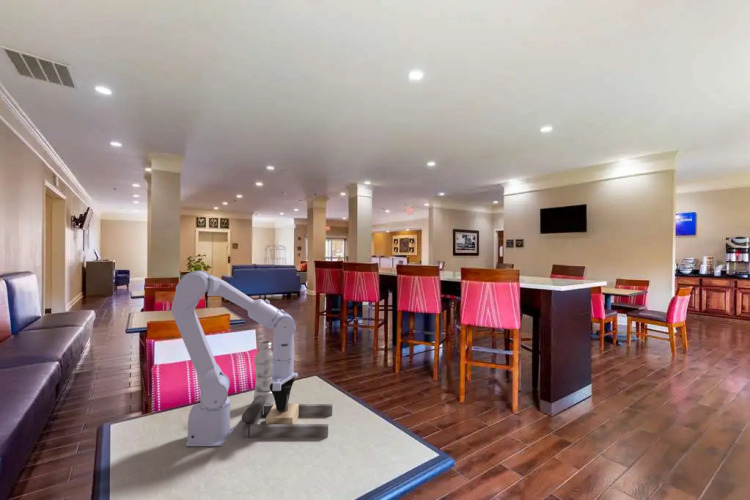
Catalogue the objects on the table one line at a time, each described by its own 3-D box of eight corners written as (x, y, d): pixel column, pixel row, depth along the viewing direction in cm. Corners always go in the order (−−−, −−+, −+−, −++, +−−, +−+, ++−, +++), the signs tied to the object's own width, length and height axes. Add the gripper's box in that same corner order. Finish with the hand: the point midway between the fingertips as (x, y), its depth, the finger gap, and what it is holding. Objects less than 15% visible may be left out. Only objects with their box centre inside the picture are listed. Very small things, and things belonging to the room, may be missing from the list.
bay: (238, 442, 89) (239, 414, 89) (255, 417, 103) (256, 393, 103) (329, 442, 90) (329, 414, 90) (333, 417, 104) (334, 393, 104)
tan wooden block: (265, 432, 92) (266, 402, 92) (274, 417, 101) (274, 389, 101) (292, 432, 92) (292, 402, 92) (298, 417, 101) (299, 389, 101)
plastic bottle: (271, 409, 109) (273, 344, 109) (250, 408, 109) (251, 344, 109) (277, 400, 115) (279, 340, 115) (257, 400, 115) (258, 339, 116)
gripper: (292, 366, 89) (291, 419, 89) (302, 351, 104) (301, 396, 104) (265, 366, 89) (263, 419, 89) (278, 350, 104) (277, 396, 103)
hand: (282, 407), depth 96 cm, fingers closed on tan wooden block, 3 cm apart
